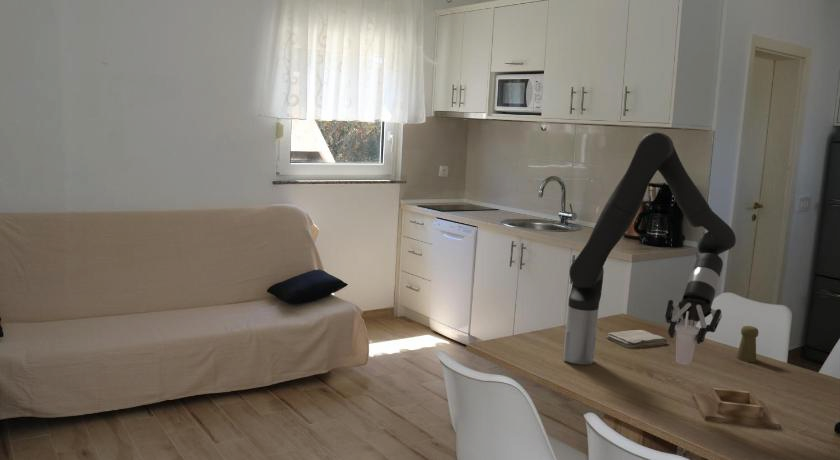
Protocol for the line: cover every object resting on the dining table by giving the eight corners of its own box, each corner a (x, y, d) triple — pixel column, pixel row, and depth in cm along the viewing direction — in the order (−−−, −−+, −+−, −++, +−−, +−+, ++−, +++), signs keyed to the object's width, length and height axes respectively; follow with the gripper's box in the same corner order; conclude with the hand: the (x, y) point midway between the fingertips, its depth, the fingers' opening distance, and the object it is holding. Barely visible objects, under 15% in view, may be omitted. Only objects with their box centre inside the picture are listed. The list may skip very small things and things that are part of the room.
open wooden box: (704, 420, 186) (706, 404, 185) (692, 397, 201) (693, 382, 201) (779, 428, 183) (781, 412, 182) (760, 404, 198) (762, 390, 198)
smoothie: (666, 358, 195) (672, 307, 193) (689, 358, 196) (695, 308, 194) (676, 366, 189) (683, 314, 187) (700, 367, 190) (707, 315, 187)
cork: (758, 363, 235) (762, 330, 233) (738, 360, 236) (742, 328, 234) (753, 357, 241) (757, 325, 239) (734, 355, 242) (738, 323, 240)
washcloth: (603, 339, 253) (604, 331, 252) (642, 335, 261) (642, 326, 260) (628, 350, 242) (629, 341, 242) (667, 345, 251) (668, 336, 250)
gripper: (673, 275, 199) (655, 325, 191) (728, 284, 191) (712, 337, 183) (676, 290, 204) (659, 340, 197) (730, 300, 196) (714, 353, 189)
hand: (684, 339), depth 190 cm, fingers closed on smoothie, 6 cm apart
